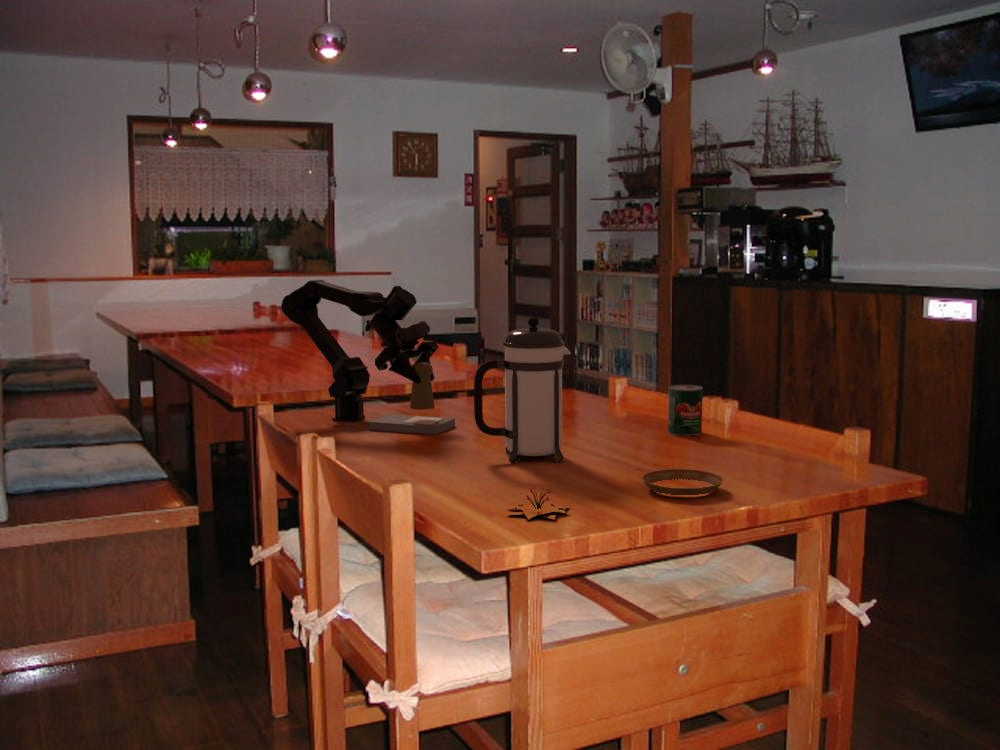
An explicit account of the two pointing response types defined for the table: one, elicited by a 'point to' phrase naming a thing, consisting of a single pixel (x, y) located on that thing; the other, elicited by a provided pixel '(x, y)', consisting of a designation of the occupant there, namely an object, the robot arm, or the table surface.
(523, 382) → the coffee press
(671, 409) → the canned tomato
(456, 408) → the table surface
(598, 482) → the table surface
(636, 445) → the table surface
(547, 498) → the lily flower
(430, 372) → the cork
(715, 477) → the plant saucer
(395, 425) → the dock step
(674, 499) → the table surface
